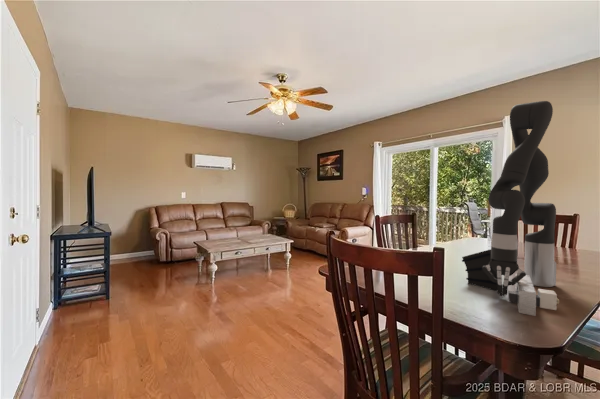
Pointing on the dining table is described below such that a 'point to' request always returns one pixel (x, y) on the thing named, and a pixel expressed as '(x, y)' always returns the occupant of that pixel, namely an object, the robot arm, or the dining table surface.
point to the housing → (526, 296)
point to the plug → (539, 298)
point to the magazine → (479, 270)
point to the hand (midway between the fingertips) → (502, 295)
